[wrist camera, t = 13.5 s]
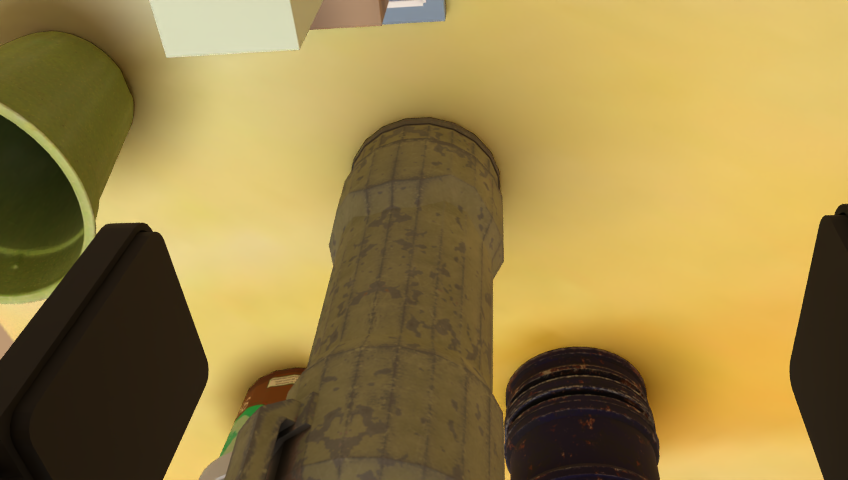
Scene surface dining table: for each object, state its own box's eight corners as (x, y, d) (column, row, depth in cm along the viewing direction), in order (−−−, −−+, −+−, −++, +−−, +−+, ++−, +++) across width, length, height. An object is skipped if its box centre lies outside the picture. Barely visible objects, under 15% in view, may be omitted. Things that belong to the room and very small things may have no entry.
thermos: (369, 72, 42) (122, 918, 14) (553, 176, 45) (648, 1044, 17) (299, 190, 47) (10, 995, 19) (469, 277, 50) (436, 1083, 22)
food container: (224, 343, 55) (178, 461, 47) (313, 353, 55) (282, 474, 47) (233, 456, 62) (194, 575, 54) (311, 465, 62) (284, 586, 54)
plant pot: (174, 7, 41) (83, 109, 32) (177, 196, 48) (103, 324, 39) (-60, -40, 40) (-220, 52, 31) (-23, 159, 47) (-144, 280, 38)
